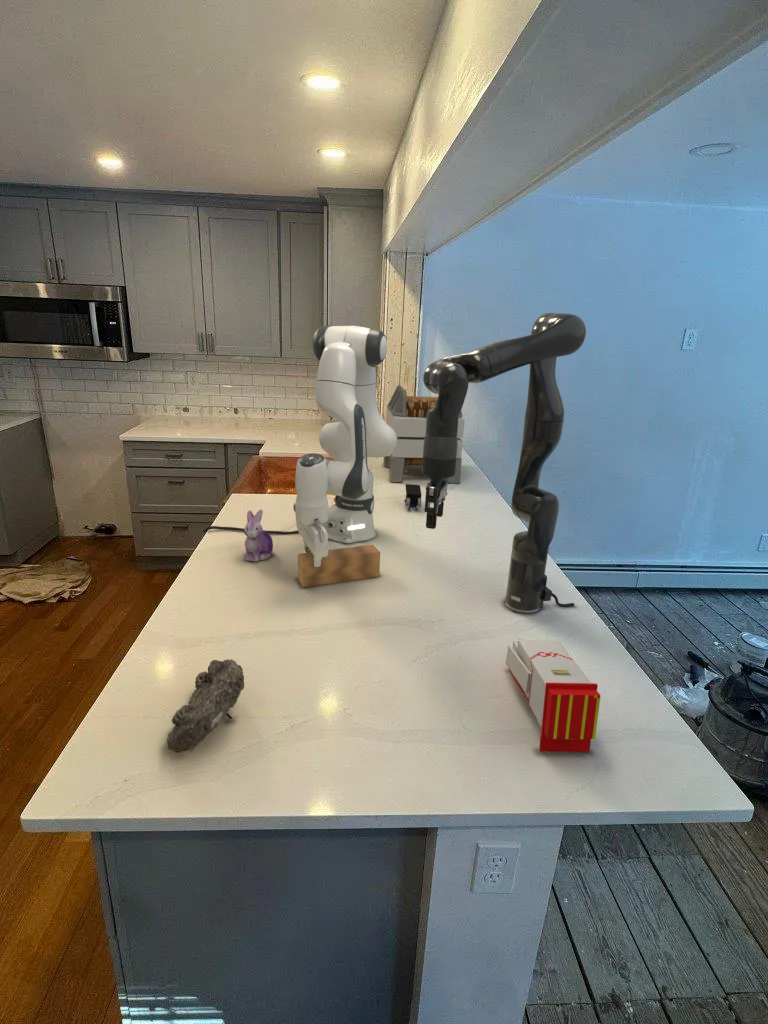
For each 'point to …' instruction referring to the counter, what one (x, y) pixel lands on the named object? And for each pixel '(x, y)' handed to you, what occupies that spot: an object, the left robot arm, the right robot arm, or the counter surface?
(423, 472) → the right robot arm
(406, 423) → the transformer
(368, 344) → the left robot arm
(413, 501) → the figurine character
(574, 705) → the toy
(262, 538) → the figurine
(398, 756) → the counter surface
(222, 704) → the fossil
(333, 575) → the bar
